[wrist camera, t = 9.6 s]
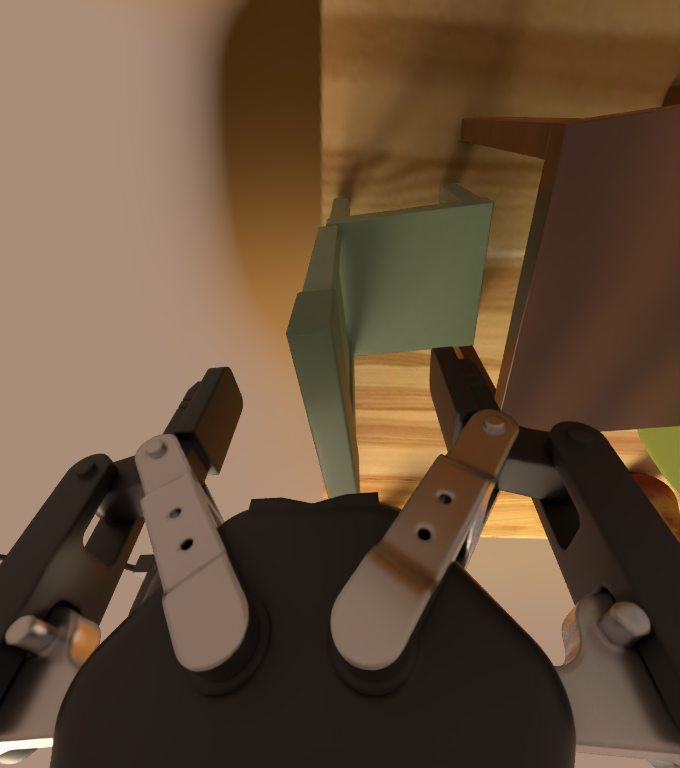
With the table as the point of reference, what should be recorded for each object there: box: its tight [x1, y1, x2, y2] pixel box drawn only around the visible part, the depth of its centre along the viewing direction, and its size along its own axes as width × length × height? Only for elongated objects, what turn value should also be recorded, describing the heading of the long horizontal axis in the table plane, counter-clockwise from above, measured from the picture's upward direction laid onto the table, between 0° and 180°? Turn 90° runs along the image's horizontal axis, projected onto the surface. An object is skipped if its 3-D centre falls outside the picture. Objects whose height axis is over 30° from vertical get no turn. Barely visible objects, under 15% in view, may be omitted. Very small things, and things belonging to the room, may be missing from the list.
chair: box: [286, 182, 493, 499], centre depth 17 cm, size 8×8×17 cm
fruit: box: [631, 473, 680, 543], centre depth 35 cm, size 6×6×12 cm
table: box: [453, 86, 680, 432], centre depth 19 cm, size 12×14×12 cm
